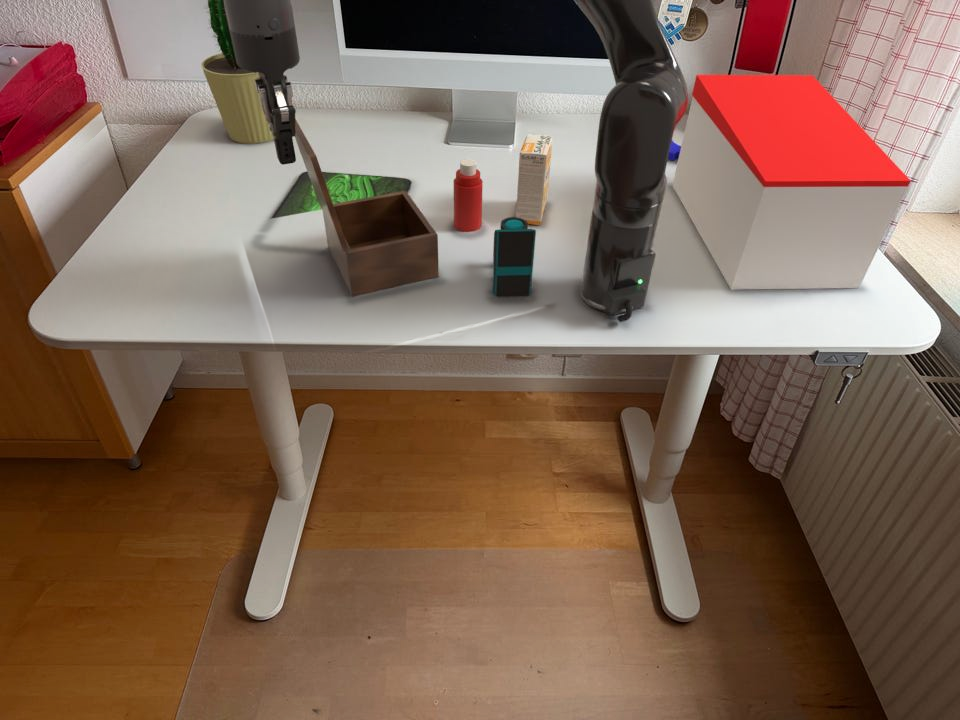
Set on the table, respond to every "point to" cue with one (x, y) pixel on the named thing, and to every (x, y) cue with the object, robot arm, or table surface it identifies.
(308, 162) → the chest lid
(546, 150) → the supplement box
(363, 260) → the chest
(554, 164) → the table surface
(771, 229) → the red-topped white box
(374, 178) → the mouse mat
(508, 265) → the black and teal battery
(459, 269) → the table surface
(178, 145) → the table surface
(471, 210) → the ketchup bottle
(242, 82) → the potted cactus
